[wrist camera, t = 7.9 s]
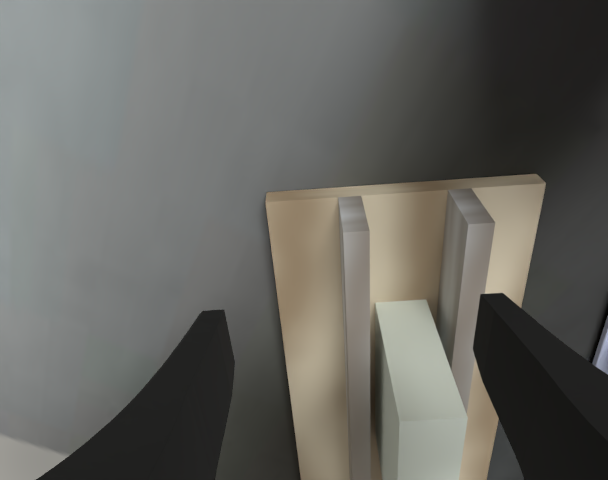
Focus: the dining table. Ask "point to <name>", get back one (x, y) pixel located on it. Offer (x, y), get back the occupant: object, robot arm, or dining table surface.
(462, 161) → the dining table surface
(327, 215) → the door track base
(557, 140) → the dining table surface
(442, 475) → the door panel
